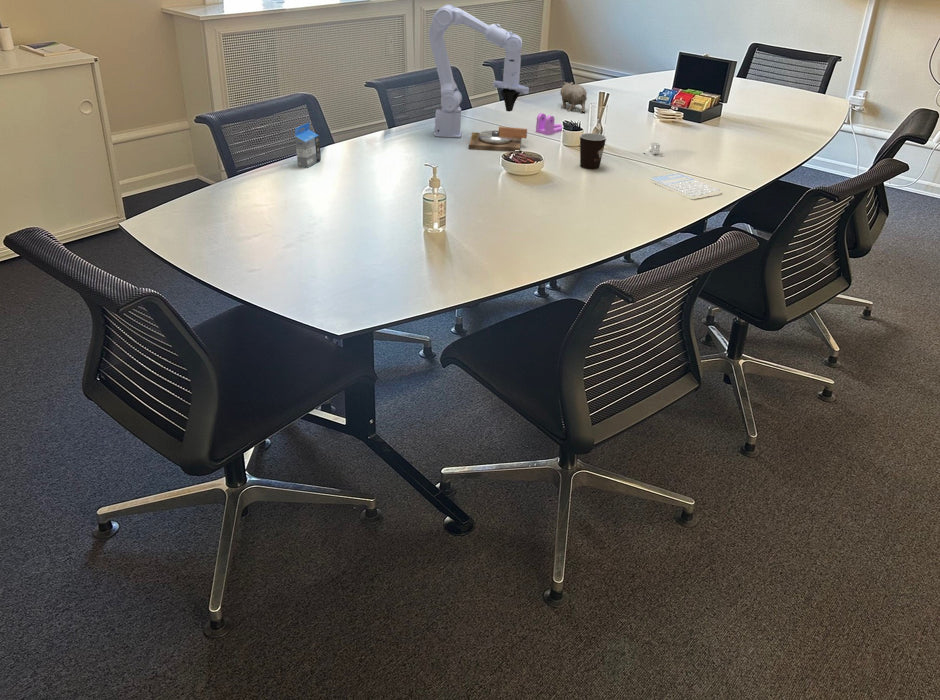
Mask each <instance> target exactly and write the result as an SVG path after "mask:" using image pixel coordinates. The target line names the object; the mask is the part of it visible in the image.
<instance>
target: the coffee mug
mask: <svg viewBox="0 0 940 700" xmlns="http://www.w3.org/2000/svg"><path fill="white" fill-rule="evenodd" d="M606 140H607V136H605V135H603V134H600V133H595V132H594V133H592V132H588V133H581V134H580V135H579V159H580V161H579V164H580V166H579V167H581V168H583V169H586V170H597V169H599V168H600V166H601V162H602V158H603V157H602V156H603V153H604V149H605V145H606Z"/></svg>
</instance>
